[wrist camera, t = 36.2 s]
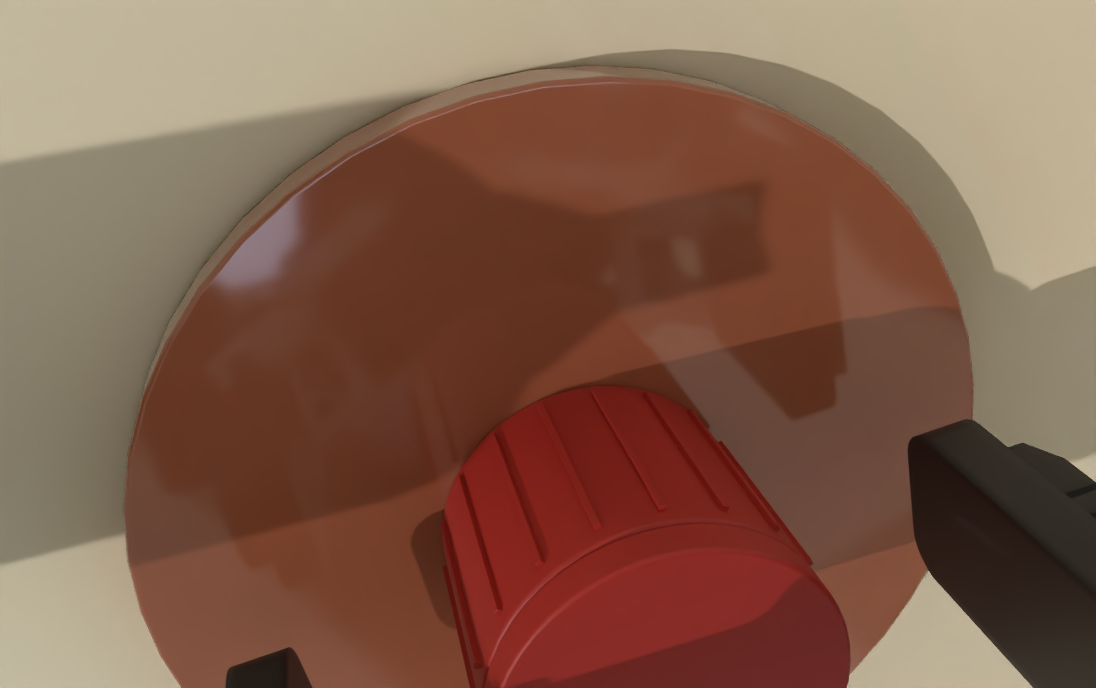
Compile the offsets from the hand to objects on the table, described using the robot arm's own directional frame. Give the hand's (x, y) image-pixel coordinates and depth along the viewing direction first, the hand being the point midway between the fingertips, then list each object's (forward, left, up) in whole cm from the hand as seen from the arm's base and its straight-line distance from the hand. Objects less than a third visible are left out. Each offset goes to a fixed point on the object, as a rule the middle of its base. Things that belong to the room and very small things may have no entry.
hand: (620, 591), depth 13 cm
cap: (0, 0, -2) cm, 2 cm away
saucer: (0, 0, -2) cm, 2 cm away
